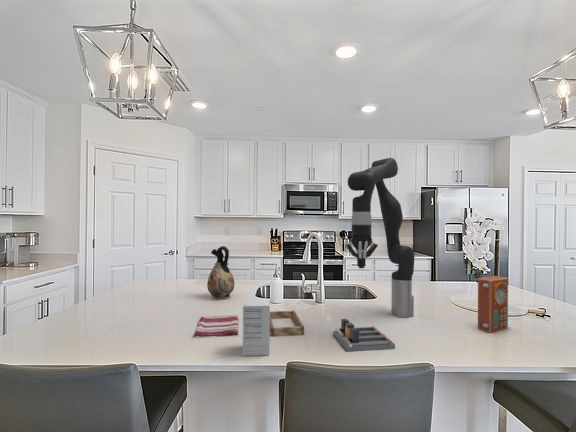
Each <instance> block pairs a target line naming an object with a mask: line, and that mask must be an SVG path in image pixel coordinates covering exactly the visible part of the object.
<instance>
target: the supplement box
mask: <svg viewBox="0 0 576 432" xmlns="http://www.w3.org/2000/svg"><path fill="white" fill-rule="evenodd" d="M270 305H271V304H270V299H268V298H267V299H264V298H263V299H244V301H243V306H242V356H243V357H246V356H247V357H249V356H250V357H251V356H257V357H258V356H270V353H271V352H270V344H271V343H270V341H271V339H270V338H271V337H270V335H271V333H270V312H271V309H270V308H271V307H270Z"/></svg>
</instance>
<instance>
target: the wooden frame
mask: <svg viewBox="0 0 576 432" xmlns="http://www.w3.org/2000/svg"><path fill="white" fill-rule="evenodd" d="M272 319H293V321H294V323H295V325H296V326H284V327H274V324H273V320H272ZM270 332H271V333H270V335H271V337H286V336H285V335H290V336H305V326H304V324H303V323H302V321H301V320H300V317H299V316H298V314H297V313H296V311H295V310H279V311H278V310H274V311H272V310H271V311H270Z"/></svg>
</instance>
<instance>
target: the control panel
mask: <svg viewBox="0 0 576 432" xmlns="http://www.w3.org/2000/svg"><path fill="white" fill-rule="evenodd" d="M508 310H509V278H508V277H504V276H498V275H493V276H492V275H491V276H485V277H479V278H477V330H480V331H483V332H487V333H491V334H492V333H494V332H495V333H496V332H500V331H502V330H503V331H504V330H506V329H508V327H509V326H508V325H509V323H508V322H509V314H508V313H509V311H508Z"/></svg>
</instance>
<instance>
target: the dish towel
mask: <svg viewBox="0 0 576 432" xmlns="http://www.w3.org/2000/svg"><path fill="white" fill-rule="evenodd" d="M238 334H239V317H238V315H236V314H232V315H215V316H210V315H209V316H208V315H202V316H200V318H199V321H198V325H197V327H196V330H195V332H194V337H195V336H216V337H233V336H234V335H235V336H238ZM235 336H234V337H235Z"/></svg>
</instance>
